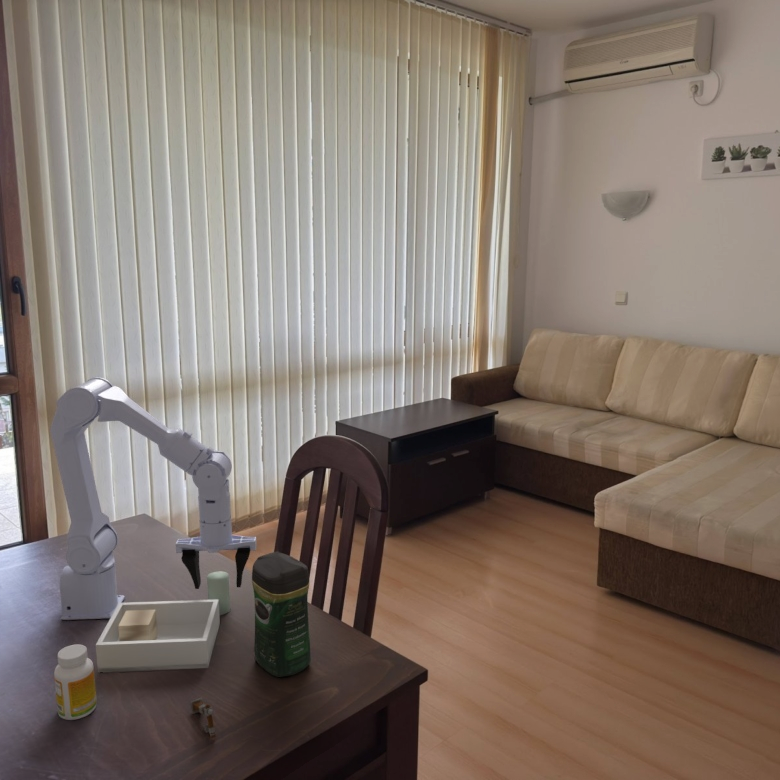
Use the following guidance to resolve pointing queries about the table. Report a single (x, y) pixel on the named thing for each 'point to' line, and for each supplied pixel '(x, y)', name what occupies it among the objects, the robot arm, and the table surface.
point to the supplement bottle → (74, 683)
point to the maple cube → (138, 625)
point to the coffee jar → (281, 614)
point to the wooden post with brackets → (208, 711)
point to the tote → (162, 638)
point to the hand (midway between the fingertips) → (218, 585)
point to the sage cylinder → (219, 590)
